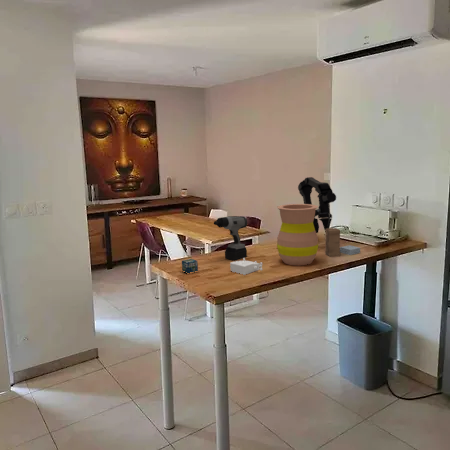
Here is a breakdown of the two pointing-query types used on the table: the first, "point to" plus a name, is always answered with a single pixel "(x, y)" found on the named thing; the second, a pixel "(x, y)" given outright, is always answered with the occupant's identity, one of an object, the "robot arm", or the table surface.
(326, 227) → the robot arm
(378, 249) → the table surface
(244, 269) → the white box with fittings
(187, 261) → the puzzle
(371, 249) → the table surface
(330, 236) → the post
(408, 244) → the table surface
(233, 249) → the cordless drill
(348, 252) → the plinth
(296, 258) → the vase
